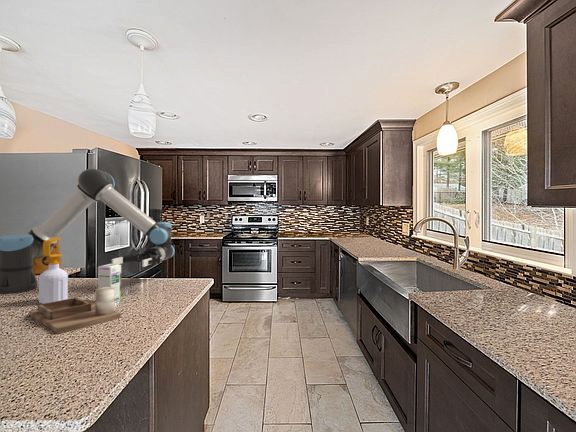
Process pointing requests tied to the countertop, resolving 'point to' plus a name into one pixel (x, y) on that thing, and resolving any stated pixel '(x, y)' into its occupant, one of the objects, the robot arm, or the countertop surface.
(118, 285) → the syrup box
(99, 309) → the caddy
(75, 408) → the countertop surface
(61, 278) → the soap bottle
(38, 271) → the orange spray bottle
